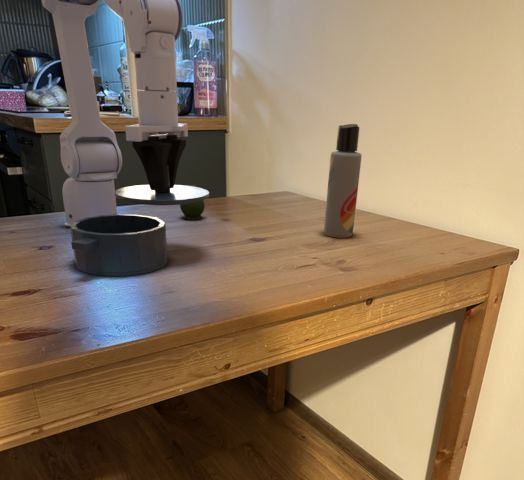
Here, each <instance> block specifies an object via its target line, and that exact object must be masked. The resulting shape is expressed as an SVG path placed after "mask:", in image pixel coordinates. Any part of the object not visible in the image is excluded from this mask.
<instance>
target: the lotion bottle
mask: <svg viewBox="0 0 524 480" xmlns="http://www.w3.org/2000/svg"><path fill="white" fill-rule="evenodd" d="M359 137H360V126H359V125H358V124H357V123H348V124H347V123H346V124H343V125H342V124H341V125H338V127H337V137H336V145H335V146H336V148H335V150H336V151H335V150H334V151H331V153H330V158H329V167H328V168H329V170H328V179H327V180H328V181H327V191H326V192H327V193H326V201H325V202H326V203H325V213H324V214H325V216H324V226H323V234H324V235H325V236H327V237H330V238H338V239H341V238H342V239H345V238H350V237H352V236H353V234H354V227H355V220H356V219H355V218H356V210H357V200H358V192H359V191H358V190H359V185H360V184H359V182H360V175H361V174H360V173H361V165H362V157H363V156H362V153H360V152H358V146H359Z"/></svg>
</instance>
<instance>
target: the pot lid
mask: <svg viewBox="0 0 524 480" xmlns="http://www.w3.org/2000/svg"><path fill="white" fill-rule="evenodd" d="M209 196H210V191H209V190H208V189H206V188H202V187H198V186H197V187H192V186H189V185H183V184H174V188H170V174H169V165H168V164H166V183H165V189H164V191H156V190H151V189H150V186H149V184H139V185H131V186H125V187H120V188H117V189H115V197H116V199H119V200H122V201H127V202H131V203H134V204H139V205H145V206H146V205H147V206H180V204H187V203H192V202H195V201H200V200H203V201H204V200H206V199H209Z"/></svg>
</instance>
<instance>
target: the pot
mask: <svg viewBox="0 0 524 480" xmlns="http://www.w3.org/2000/svg"><path fill="white" fill-rule="evenodd" d="M166 228H167V227H166V222H165V221H164V220H162V219H160V218H159V217H157V216H150V215H141V214H126V213H125V214H123V213H121V214H120V213H117V214H116V215H101V216H94V217H87V218H84V219H80V220H77V221H75V222H73V223H72V224H71V225H70V227H69V229H70V235H71V249H72V250H73V256H74V262H75V266H76V268H77V269H78V270H79V271H81V272H83V273H85V274H90V275H95V276H104V277H128V276H129V277H130V276H138V275H144V274H147V273H148V274H149V273H152V272H155V271H158V270H160V269H162V268H163V267H165V266H166V264H167V262H168V260H167V259H168V245H167V229H166Z"/></svg>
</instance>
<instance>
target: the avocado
mask: <svg viewBox="0 0 524 480" xmlns="http://www.w3.org/2000/svg"><path fill="white" fill-rule="evenodd" d="M188 186H192V187H198V186H197V185H195V184H189V185H188ZM179 206H180V208H179V209H180V210H181V212H182V214H183V217H184V219H185V220H188V221H199V220H201V219H202V214H203V213H204V212H205V208H206V207H205V201H204V199H203V200H200V201H195V202H192V203H187V204H180V205H179Z"/></svg>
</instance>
